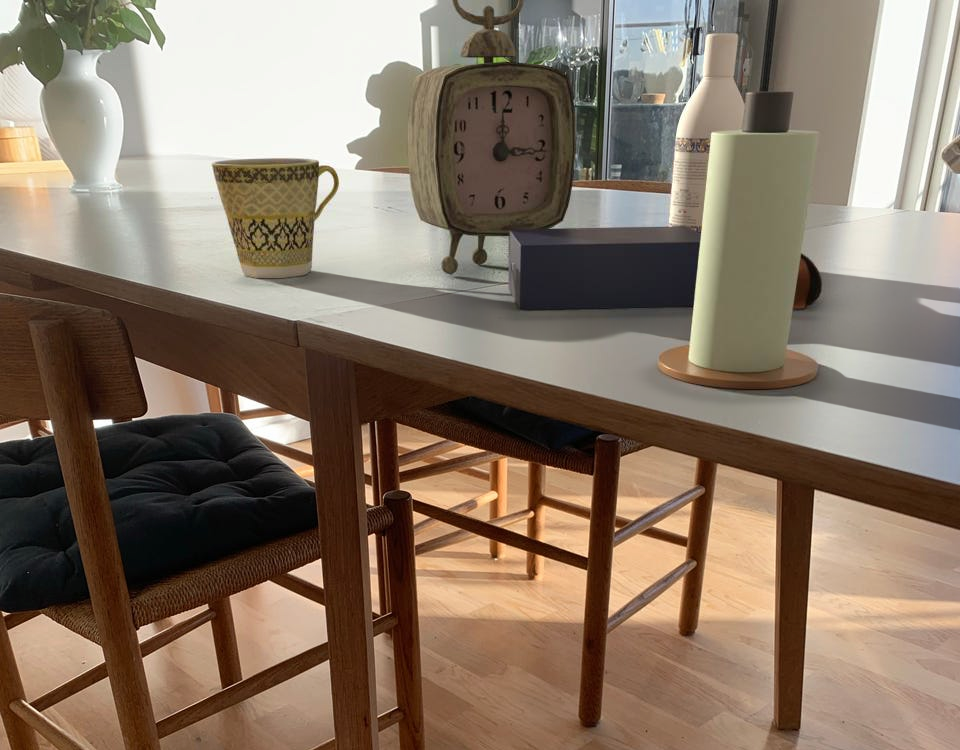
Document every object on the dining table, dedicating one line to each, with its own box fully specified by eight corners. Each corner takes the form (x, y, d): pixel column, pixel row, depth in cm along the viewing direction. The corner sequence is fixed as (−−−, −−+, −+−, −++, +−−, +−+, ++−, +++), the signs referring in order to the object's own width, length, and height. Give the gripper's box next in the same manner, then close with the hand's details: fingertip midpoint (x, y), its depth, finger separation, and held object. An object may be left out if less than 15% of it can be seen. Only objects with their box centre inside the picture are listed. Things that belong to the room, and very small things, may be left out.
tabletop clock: (438, 279, 90) (429, -40, 78) (405, 266, 98) (392, -29, 85) (571, 268, 96) (582, -34, 83) (530, 256, 103) (535, -23, 90)
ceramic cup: (259, 285, 89) (244, 166, 84) (208, 272, 95) (192, 161, 90) (371, 269, 96) (365, 159, 91) (318, 258, 102) (309, 155, 97)
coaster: (784, 348, 66) (786, 340, 65) (842, 387, 57) (843, 378, 57) (643, 351, 65) (643, 344, 65) (679, 391, 57) (680, 383, 56)
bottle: (766, 348, 64) (802, 91, 56) (798, 371, 58) (843, 91, 51) (678, 350, 63) (703, 92, 56) (702, 374, 58) (733, 92, 50)
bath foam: (718, 256, 101) (743, 36, 91) (744, 267, 95) (773, 32, 85) (656, 259, 100) (674, 36, 90) (678, 269, 94) (700, 32, 84)
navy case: (681, 284, 87) (687, 226, 85) (712, 306, 79) (719, 241, 76) (507, 288, 86) (507, 229, 84) (518, 310, 78) (519, 245, 75)
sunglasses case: (679, 266, 92) (722, 202, 89) (736, 304, 94) (780, 242, 91) (717, 303, 77) (770, 226, 74) (785, 347, 79) (839, 274, 76)
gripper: (1360, -6, 39) (1032, 238, 46) (1182, 22, 56) (962, 197, 63) (1283, -138, 38) (957, 134, 45) (1124, -69, 55) (906, 121, 62)
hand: (959, 171), depth 54 cm, fingers open, 8 cm apart
